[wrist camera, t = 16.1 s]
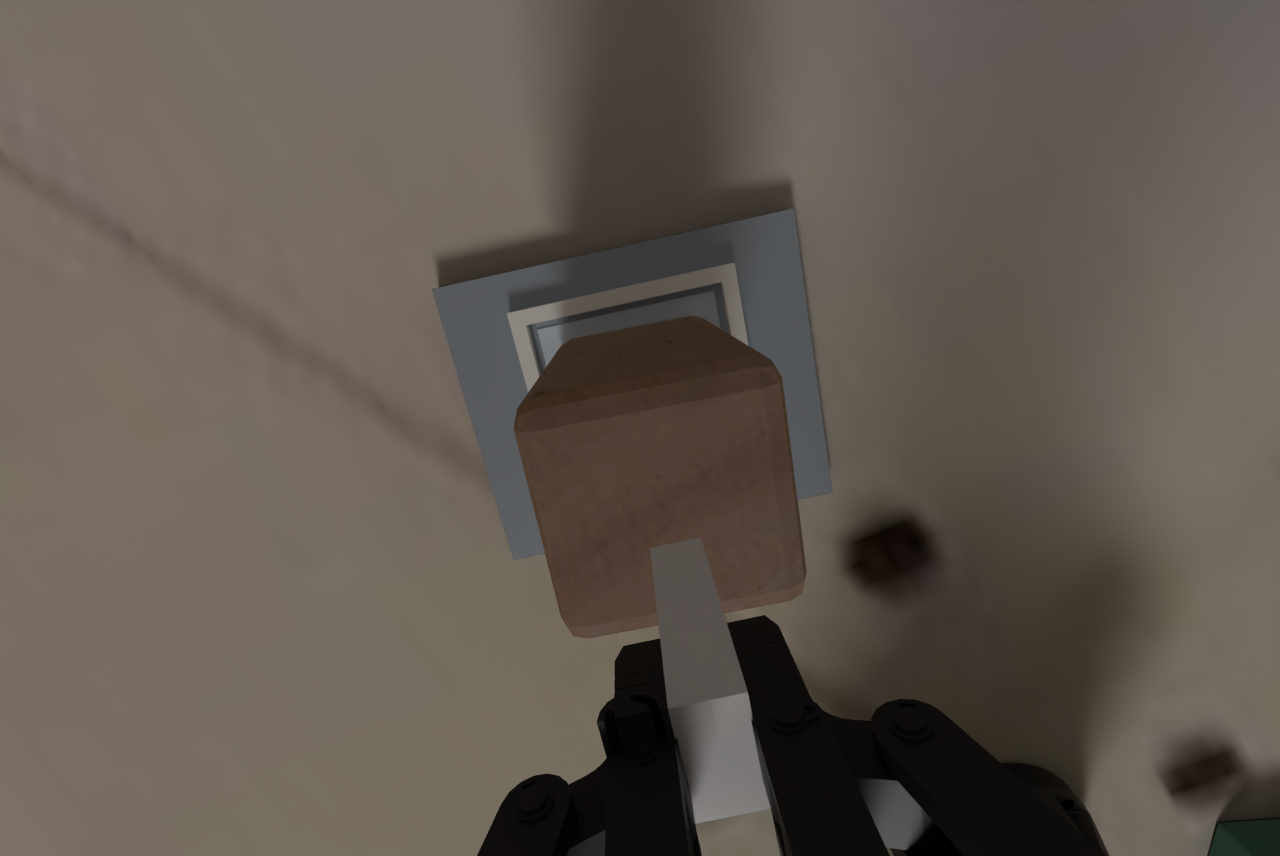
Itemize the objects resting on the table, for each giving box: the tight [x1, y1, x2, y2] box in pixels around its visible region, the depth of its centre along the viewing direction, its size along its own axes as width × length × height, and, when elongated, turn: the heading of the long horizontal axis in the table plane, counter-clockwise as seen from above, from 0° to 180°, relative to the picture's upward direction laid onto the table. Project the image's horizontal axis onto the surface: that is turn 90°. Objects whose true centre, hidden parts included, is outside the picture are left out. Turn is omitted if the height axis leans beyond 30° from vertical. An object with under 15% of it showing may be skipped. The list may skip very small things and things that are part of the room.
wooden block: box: [514, 316, 806, 638], centre depth 32 cm, size 10×10×20 cm
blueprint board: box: [432, 208, 833, 560], centre depth 42 cm, size 24×20×2 cm
